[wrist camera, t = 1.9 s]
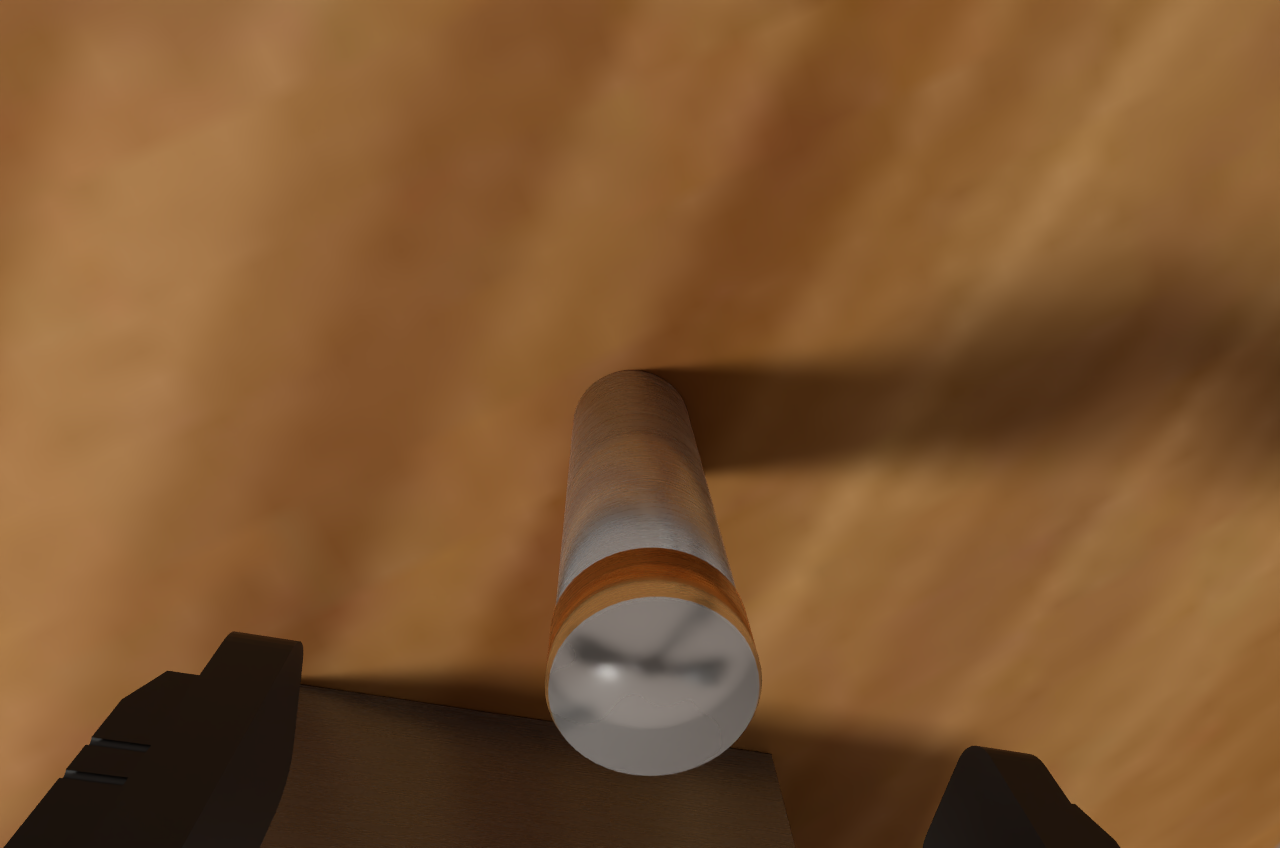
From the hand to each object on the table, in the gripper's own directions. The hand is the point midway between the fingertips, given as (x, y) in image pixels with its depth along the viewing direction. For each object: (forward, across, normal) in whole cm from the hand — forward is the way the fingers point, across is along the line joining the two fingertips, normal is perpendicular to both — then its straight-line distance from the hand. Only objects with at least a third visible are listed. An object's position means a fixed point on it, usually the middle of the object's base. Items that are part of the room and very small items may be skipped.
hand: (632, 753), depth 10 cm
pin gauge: (+11, 0, 0) cm, 11 cm away
